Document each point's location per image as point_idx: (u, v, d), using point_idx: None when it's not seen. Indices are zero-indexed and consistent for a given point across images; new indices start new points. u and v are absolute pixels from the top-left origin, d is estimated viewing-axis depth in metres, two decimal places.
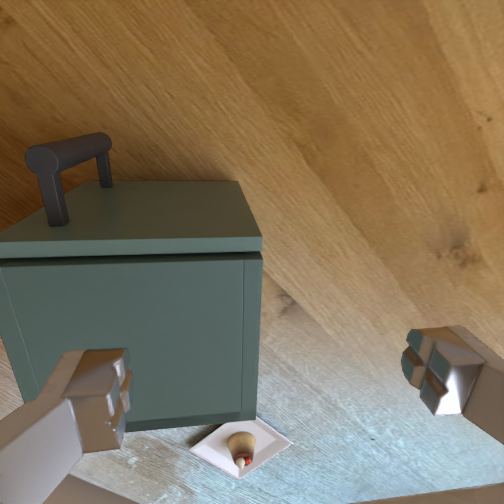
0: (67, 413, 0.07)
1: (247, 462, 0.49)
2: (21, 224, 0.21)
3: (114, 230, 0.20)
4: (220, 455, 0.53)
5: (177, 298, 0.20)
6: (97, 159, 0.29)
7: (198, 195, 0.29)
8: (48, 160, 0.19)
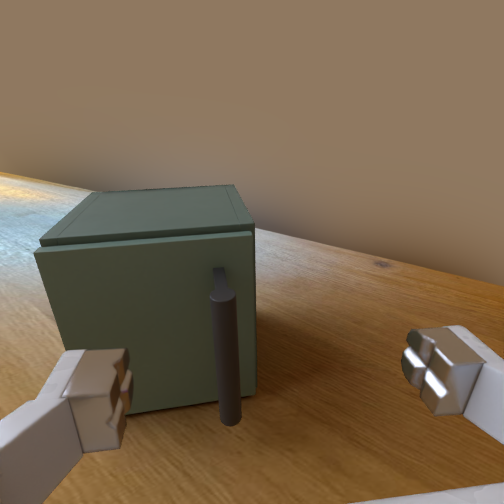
0: (67, 413, 0.07)
1: None
2: (247, 270, 0.26)
3: (168, 261, 0.25)
4: None
5: (121, 222, 0.27)
6: None
7: None
8: (217, 294, 0.22)
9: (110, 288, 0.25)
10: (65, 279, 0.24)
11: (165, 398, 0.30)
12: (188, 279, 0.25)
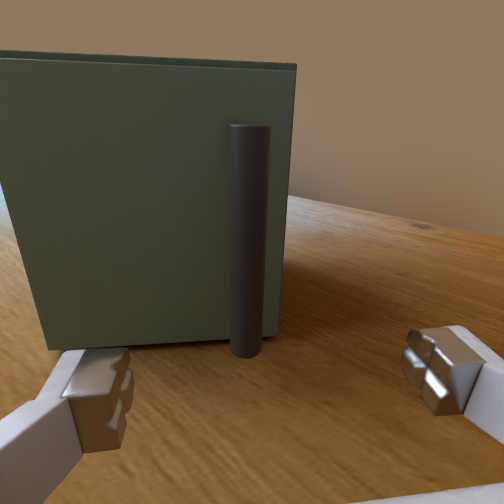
0: (67, 413, 0.07)
1: None
2: (282, 132, 0.18)
3: (168, 100, 0.17)
4: None
5: None
6: None
7: (96, 260, 0.19)
8: (241, 124, 0.14)
9: (81, 137, 0.17)
10: (14, 112, 0.16)
11: (154, 328, 0.22)
12: (196, 136, 0.17)
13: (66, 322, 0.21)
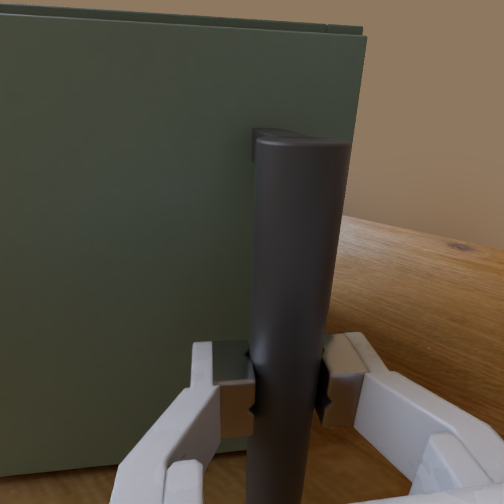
0: (218, 400, 0.07)
1: None
2: None
3: (133, 89, 0.09)
4: None
5: None
6: None
7: (23, 355, 0.12)
8: (283, 138, 0.06)
9: None
10: None
11: (126, 443, 0.14)
12: (187, 155, 0.10)
13: None
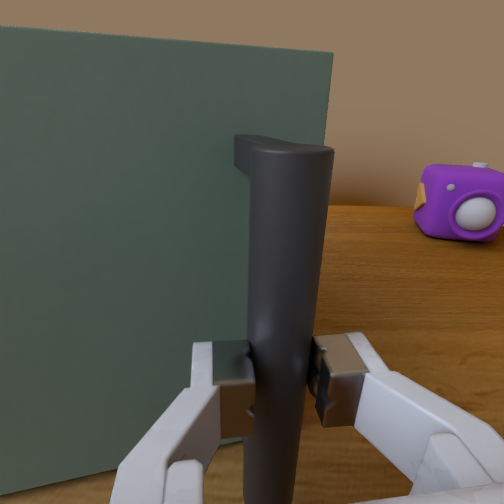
0: (218, 400, 0.07)
1: None
2: None
3: (121, 99, 0.09)
4: None
5: None
6: None
7: (7, 368, 0.12)
8: (276, 146, 0.07)
9: None
10: None
11: (115, 449, 0.14)
12: (173, 161, 0.10)
13: None
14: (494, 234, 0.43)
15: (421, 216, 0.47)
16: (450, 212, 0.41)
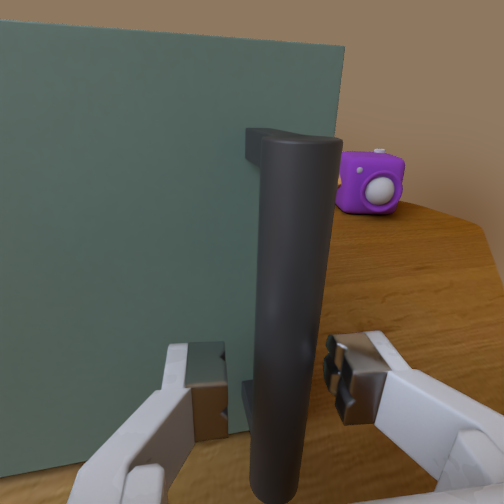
0: (190, 402, 0.07)
1: None
2: None
3: (136, 92, 0.10)
4: None
5: None
6: None
7: (25, 352, 0.12)
8: (285, 137, 0.07)
9: None
10: None
11: None
12: (186, 153, 0.11)
13: None
14: (394, 207, 0.53)
15: (338, 196, 0.55)
16: (361, 190, 0.49)
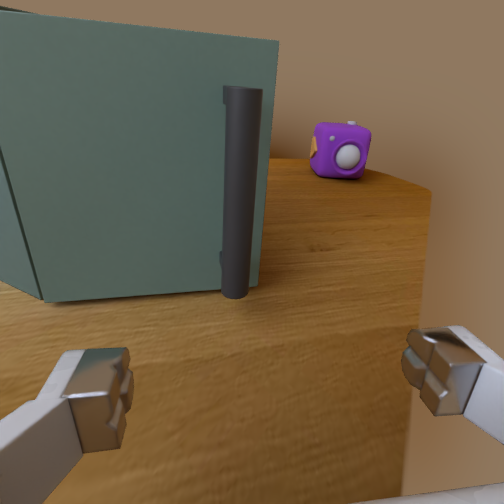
0: (67, 413, 0.07)
1: None
2: (266, 97, 0.20)
3: (163, 62, 0.18)
4: None
5: None
6: None
7: (92, 215, 0.21)
8: None
9: (80, 94, 0.18)
10: (12, 65, 0.16)
11: (147, 280, 0.24)
12: (189, 98, 0.19)
13: (62, 275, 0.22)
14: (361, 172, 0.62)
15: (314, 161, 0.63)
16: (332, 156, 0.57)
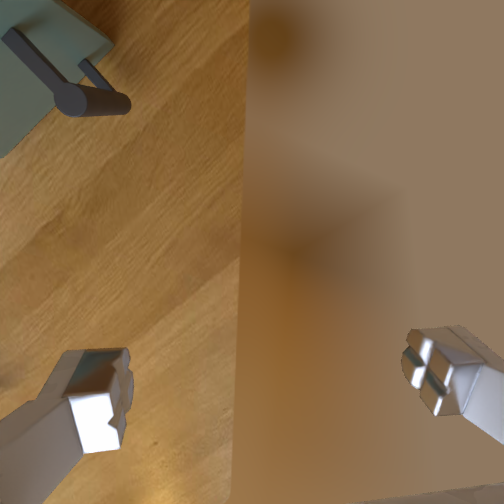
0: (67, 413, 0.07)
1: None
2: (39, 3, 0.17)
3: None
4: None
5: None
6: (108, 87, 0.28)
7: None
8: (66, 105, 0.18)
9: None
10: None
11: (45, 109, 0.29)
12: None
13: (1, 150, 0.30)
14: None
15: None
16: None
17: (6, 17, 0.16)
